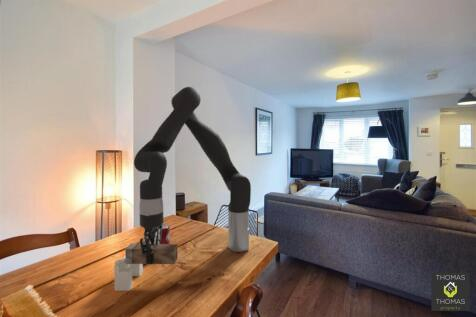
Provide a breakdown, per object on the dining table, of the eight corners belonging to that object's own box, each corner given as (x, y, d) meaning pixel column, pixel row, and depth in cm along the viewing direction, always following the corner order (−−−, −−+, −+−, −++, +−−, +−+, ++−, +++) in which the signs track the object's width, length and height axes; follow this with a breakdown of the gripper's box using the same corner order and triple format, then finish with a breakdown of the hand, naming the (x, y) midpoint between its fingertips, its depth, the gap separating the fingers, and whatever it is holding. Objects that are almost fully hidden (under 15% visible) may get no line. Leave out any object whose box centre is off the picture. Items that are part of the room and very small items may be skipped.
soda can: (153, 259, 94) (152, 230, 93) (151, 251, 100) (150, 224, 100) (171, 255, 97) (171, 227, 96) (168, 248, 104) (167, 222, 103)
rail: (177, 258, 80) (177, 243, 80) (174, 264, 76) (173, 249, 76) (131, 257, 81) (131, 243, 80) (125, 264, 76) (125, 248, 76)
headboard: (142, 272, 84) (142, 247, 83) (128, 290, 73) (128, 261, 73) (130, 272, 84) (129, 247, 83) (114, 290, 74) (113, 261, 73)
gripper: (148, 205, 85) (149, 250, 86) (130, 217, 70) (131, 271, 71) (169, 205, 84) (170, 250, 85) (154, 217, 70) (155, 272, 71)
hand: (152, 260), depth 78 cm, fingers closed on rail, 4 cm apart
